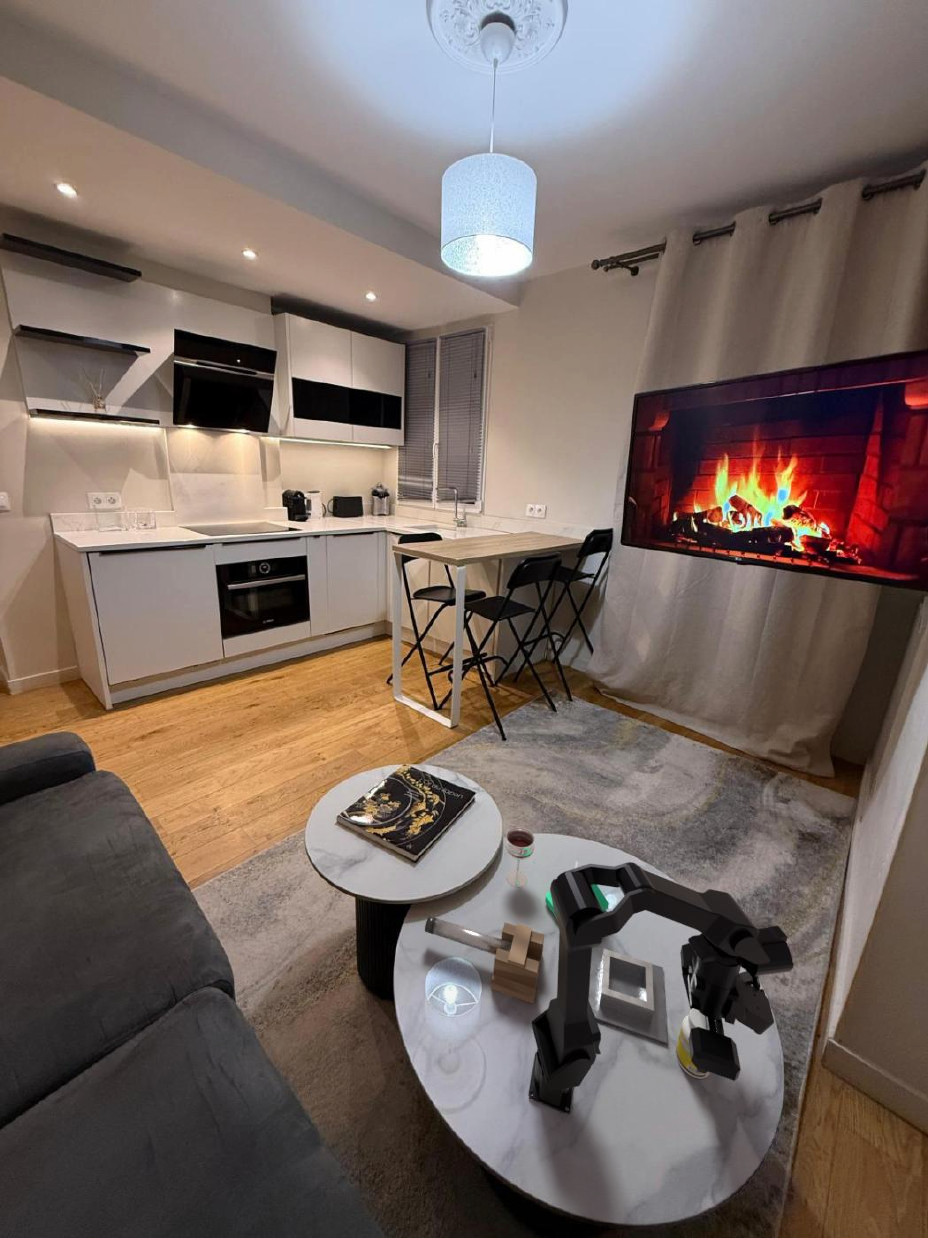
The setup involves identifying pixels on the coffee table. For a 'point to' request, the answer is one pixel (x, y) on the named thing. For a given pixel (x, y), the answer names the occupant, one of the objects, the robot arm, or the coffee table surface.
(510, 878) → the wineglass
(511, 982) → the mount
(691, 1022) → the supplement bottle
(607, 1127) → the coffee table surface
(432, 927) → the pin
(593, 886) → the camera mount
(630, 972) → the socket
